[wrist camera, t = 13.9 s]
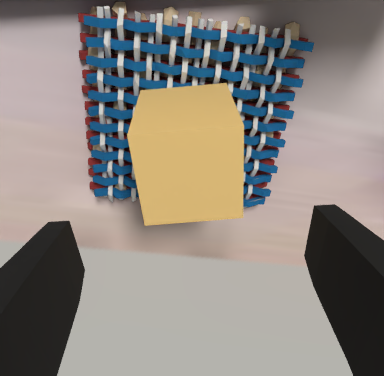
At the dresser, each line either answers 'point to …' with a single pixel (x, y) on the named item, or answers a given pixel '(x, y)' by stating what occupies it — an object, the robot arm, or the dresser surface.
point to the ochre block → (188, 154)
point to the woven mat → (190, 71)
